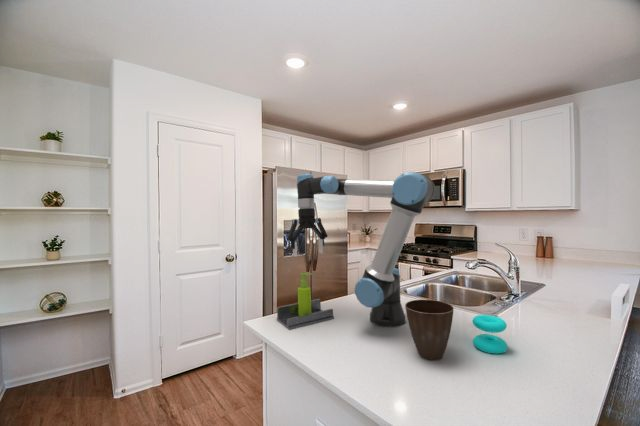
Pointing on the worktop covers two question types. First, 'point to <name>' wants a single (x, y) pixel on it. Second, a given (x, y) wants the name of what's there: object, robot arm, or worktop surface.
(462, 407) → the worktop surface
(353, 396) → the worktop surface
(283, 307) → the track
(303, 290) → the soap dispenser
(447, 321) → the plant pot
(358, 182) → the robot arm
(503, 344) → the donuts
